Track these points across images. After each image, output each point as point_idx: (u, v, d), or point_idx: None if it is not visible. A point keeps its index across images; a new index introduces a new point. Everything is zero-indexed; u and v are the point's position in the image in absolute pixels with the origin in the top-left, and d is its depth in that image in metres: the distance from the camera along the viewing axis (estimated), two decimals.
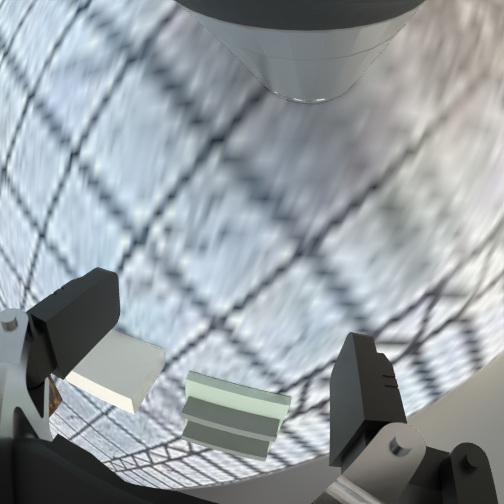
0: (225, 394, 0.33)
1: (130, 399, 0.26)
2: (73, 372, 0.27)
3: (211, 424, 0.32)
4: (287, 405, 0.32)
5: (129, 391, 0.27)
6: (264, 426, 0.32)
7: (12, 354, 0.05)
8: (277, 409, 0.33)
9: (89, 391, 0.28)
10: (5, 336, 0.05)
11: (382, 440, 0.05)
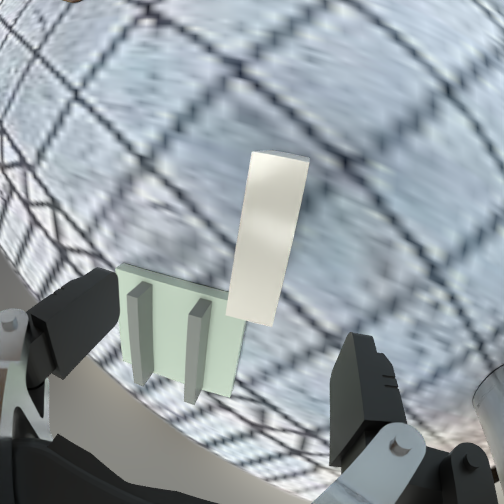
0: (232, 346, 0.29)
1: None
2: (297, 199, 0.15)
3: (192, 350, 0.26)
4: (229, 395, 0.31)
5: None
6: (199, 386, 0.29)
7: (12, 354, 0.05)
8: (220, 387, 0.31)
9: (247, 222, 0.16)
10: (5, 336, 0.05)
11: (382, 440, 0.05)
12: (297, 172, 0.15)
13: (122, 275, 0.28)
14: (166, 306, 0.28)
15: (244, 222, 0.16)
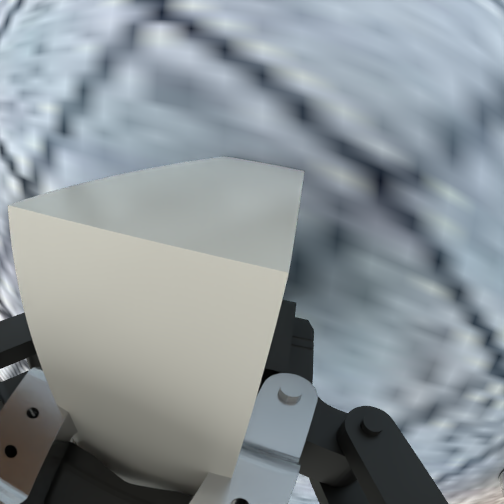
0: None
1: None
2: (226, 430, 0.03)
3: None
4: None
5: None
6: None
7: None
8: None
9: (83, 433, 0.04)
10: None
11: (269, 385, 0.06)
12: (209, 331, 0.02)
13: None
14: None
15: None
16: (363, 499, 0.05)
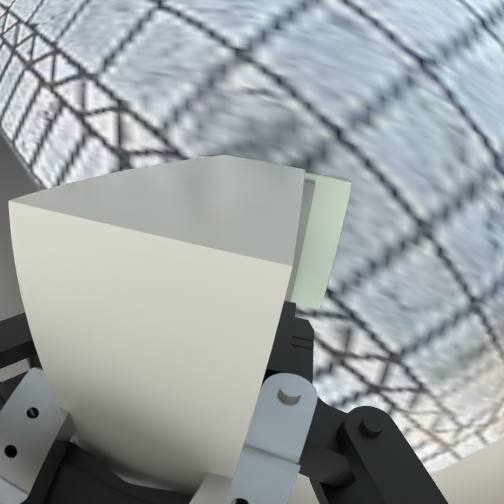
0: (332, 235, 0.27)
1: None
2: (227, 428, 0.03)
3: (298, 230, 0.24)
4: (320, 307, 0.30)
5: None
6: None
7: None
8: (311, 296, 0.29)
9: (83, 432, 0.04)
10: None
11: (269, 385, 0.06)
12: (210, 327, 0.02)
13: None
14: None
15: (76, 428, 0.04)
16: (363, 499, 0.05)
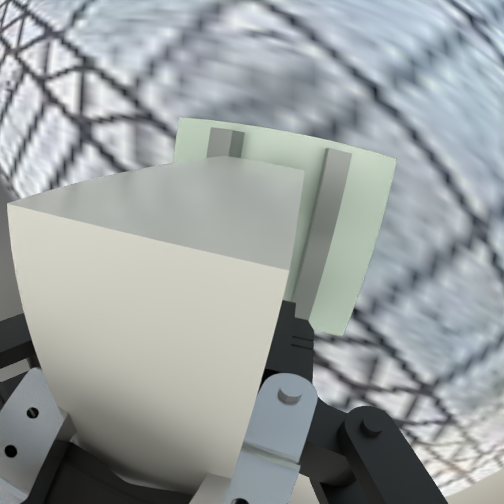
0: (367, 234, 0.18)
1: None
2: (225, 430, 0.03)
3: (324, 224, 0.15)
4: (342, 332, 0.21)
5: None
6: None
7: None
8: (332, 319, 0.20)
9: (83, 433, 0.04)
10: None
11: (268, 385, 0.06)
12: (208, 330, 0.02)
13: (190, 126, 0.18)
14: None
15: None
16: (363, 499, 0.05)
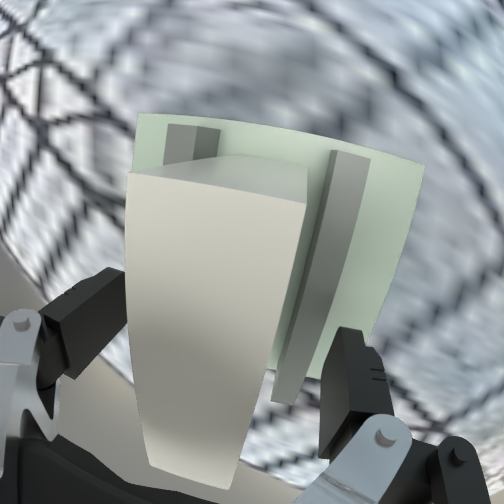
0: (383, 264, 0.13)
1: (228, 489, 0.08)
2: (267, 315, 0.05)
3: (328, 260, 0.11)
4: None
5: None
6: None
7: (23, 355, 0.05)
8: None
9: (146, 354, 0.06)
10: (16, 337, 0.05)
11: (367, 431, 0.05)
12: (265, 239, 0.05)
13: (151, 124, 0.13)
14: None
15: (139, 352, 0.06)
16: None
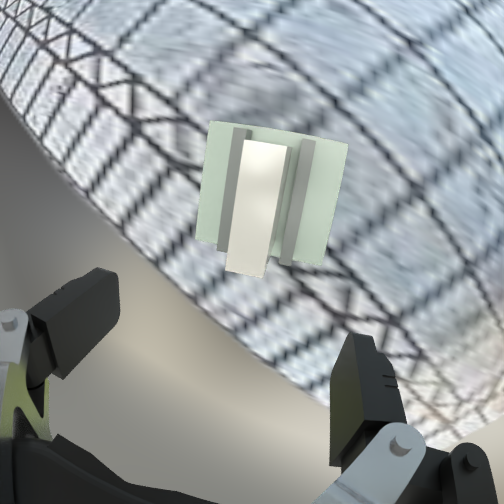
0: (331, 192, 0.29)
1: (262, 277, 0.23)
2: (279, 174, 0.20)
3: (301, 182, 0.26)
4: (321, 263, 0.31)
5: (265, 266, 0.24)
6: None
7: (12, 354, 0.05)
8: (312, 252, 0.31)
9: (241, 193, 0.21)
10: (5, 336, 0.05)
11: (382, 440, 0.05)
12: (278, 154, 0.20)
13: (217, 126, 0.28)
14: None
15: (239, 193, 0.21)
16: None
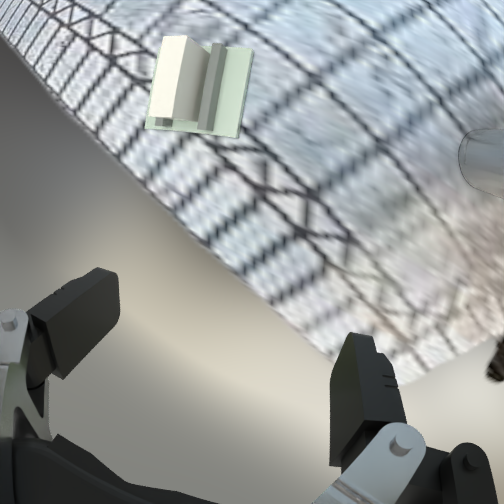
0: (240, 81, 0.35)
1: (171, 117, 0.29)
2: (182, 50, 0.26)
3: (211, 70, 0.32)
4: (235, 135, 0.37)
5: (175, 112, 0.30)
6: (211, 117, 0.36)
7: (12, 354, 0.05)
8: (228, 127, 0.37)
9: (160, 65, 0.27)
10: (5, 336, 0.05)
11: (382, 440, 0.05)
12: (182, 40, 0.26)
13: None
14: None
15: (159, 65, 0.27)
16: None
